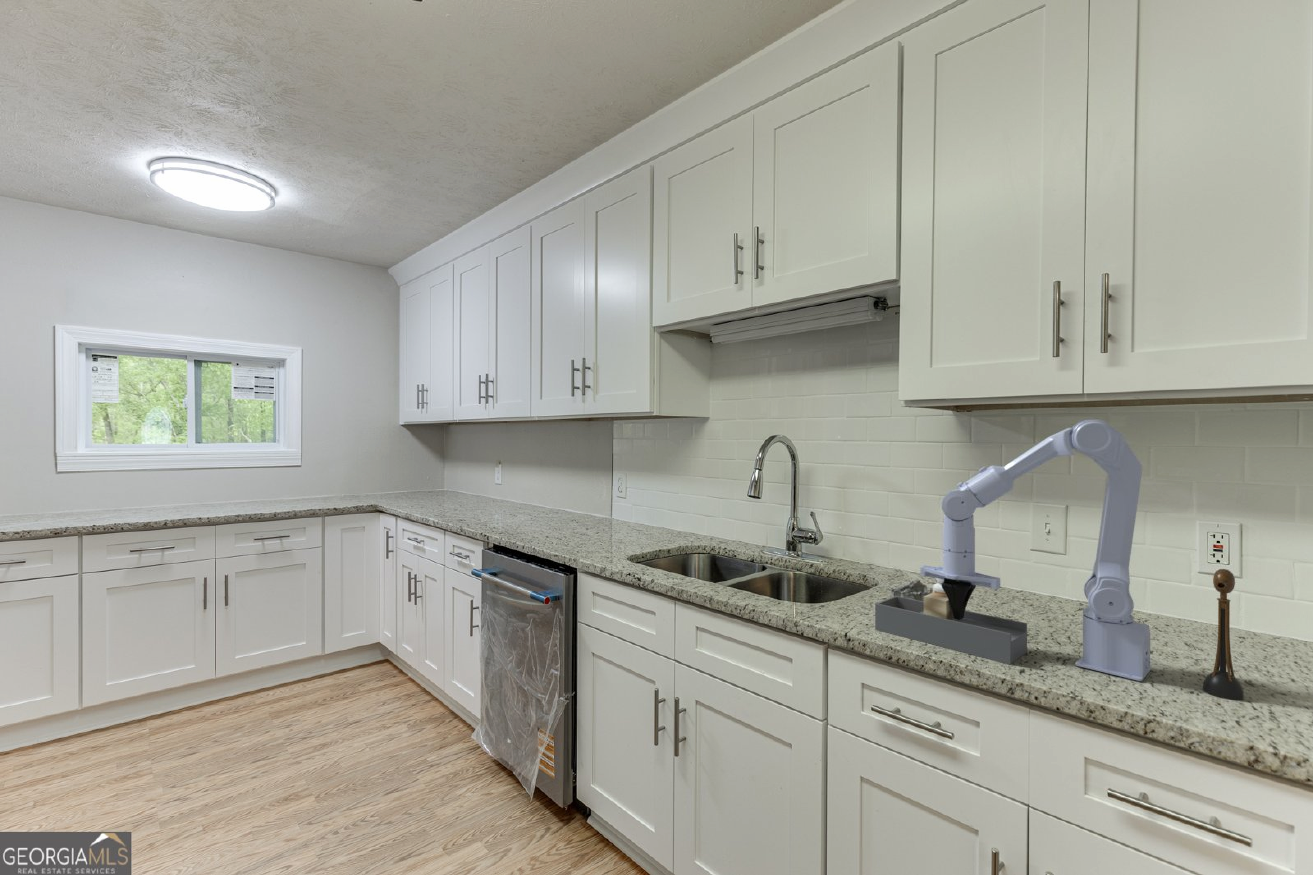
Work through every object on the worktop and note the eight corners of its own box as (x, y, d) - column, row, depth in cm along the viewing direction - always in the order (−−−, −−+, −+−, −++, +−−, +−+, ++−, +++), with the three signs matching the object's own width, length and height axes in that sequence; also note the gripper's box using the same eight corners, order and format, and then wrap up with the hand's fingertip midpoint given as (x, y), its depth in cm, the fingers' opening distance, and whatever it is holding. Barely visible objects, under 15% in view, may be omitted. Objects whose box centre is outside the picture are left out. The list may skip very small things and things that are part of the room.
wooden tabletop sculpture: (1240, 704, 93) (1240, 574, 92) (1199, 694, 96) (1200, 569, 96) (1245, 693, 96) (1245, 569, 96) (1206, 684, 100) (1206, 564, 100)
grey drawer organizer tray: (1027, 652, 115) (1027, 623, 115) (1010, 664, 109) (1010, 634, 109) (895, 620, 134) (895, 595, 134) (875, 629, 128) (875, 603, 128)
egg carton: (920, 595, 155) (920, 579, 155) (942, 603, 148) (942, 586, 148) (885, 598, 152) (885, 582, 152) (905, 607, 145) (905, 590, 145)
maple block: (955, 618, 122) (955, 596, 122) (946, 623, 119) (946, 601, 119) (933, 613, 126) (933, 592, 126) (923, 618, 123) (923, 596, 123)
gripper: (913, 547, 122) (913, 614, 122) (990, 558, 111) (990, 632, 112) (928, 543, 127) (928, 607, 127) (1004, 553, 116) (1004, 623, 116)
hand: (958, 618), depth 120 cm, fingers closed
